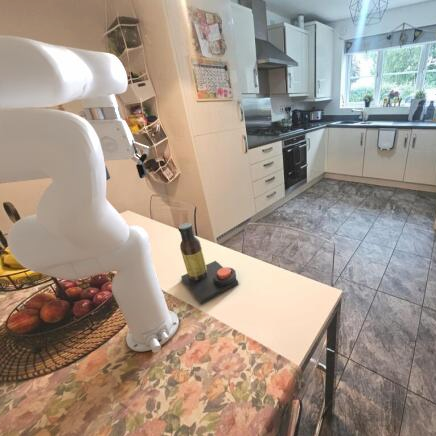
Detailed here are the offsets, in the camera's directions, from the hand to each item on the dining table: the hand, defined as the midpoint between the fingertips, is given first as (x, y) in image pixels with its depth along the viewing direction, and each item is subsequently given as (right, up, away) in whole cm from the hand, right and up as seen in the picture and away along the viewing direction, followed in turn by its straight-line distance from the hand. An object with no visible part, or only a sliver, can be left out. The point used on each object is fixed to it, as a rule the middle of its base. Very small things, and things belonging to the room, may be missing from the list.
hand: (125, 178), depth 72 cm
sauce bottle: (+17, -32, +13) cm, 38 cm away
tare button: (+26, -31, +11) cm, 42 cm away
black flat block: (+21, -34, +12) cm, 41 cm away
